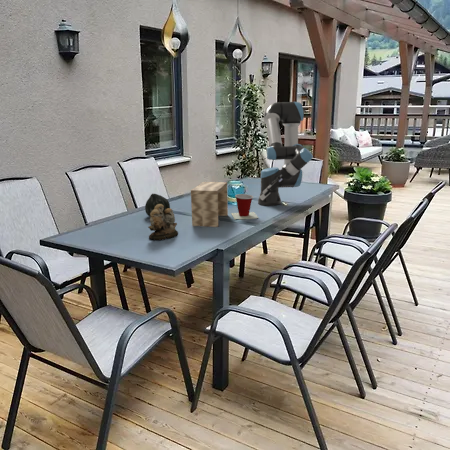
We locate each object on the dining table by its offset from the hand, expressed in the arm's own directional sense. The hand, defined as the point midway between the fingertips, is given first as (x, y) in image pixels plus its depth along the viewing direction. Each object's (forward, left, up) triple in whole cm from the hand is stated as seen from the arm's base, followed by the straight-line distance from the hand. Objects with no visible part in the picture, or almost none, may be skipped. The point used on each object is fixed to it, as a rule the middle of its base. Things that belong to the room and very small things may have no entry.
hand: (262, 196), depth 259 cm
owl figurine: (+58, +29, -13) cm, 66 cm away
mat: (+10, -3, -12) cm, 16 cm away
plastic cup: (+10, -3, -12) cm, 16 cm away
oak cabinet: (+31, +2, -12) cm, 33 cm away
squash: (+61, -13, -13) cm, 64 cm away
